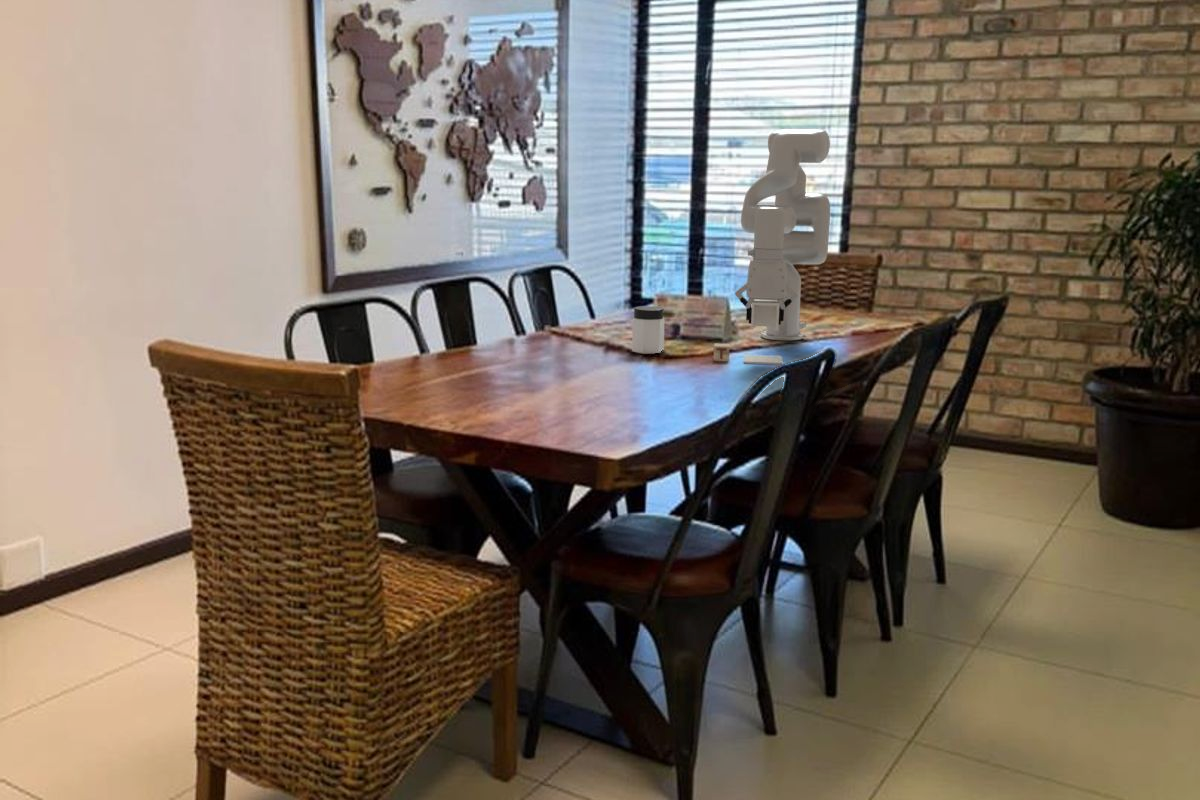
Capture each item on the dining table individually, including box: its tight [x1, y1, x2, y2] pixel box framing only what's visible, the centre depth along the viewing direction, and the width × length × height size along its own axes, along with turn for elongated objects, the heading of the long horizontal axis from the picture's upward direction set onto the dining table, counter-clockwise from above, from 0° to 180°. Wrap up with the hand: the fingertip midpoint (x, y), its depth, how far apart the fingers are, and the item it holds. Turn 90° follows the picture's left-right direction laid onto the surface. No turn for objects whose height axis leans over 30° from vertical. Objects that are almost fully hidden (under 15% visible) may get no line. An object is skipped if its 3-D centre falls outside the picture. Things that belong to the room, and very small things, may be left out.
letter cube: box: [713, 343, 730, 362], centre depth 273 cm, size 4×4×4 cm
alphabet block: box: [750, 299, 780, 330], centre depth 269 cm, size 7×7×7 cm
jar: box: [631, 305, 666, 355], centre depth 282 cm, size 9×8×12 cm
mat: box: [743, 354, 784, 366], centre depth 272 cm, size 10×10×1 cm
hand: (764, 322), depth 270 cm, fingers closed on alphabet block, 7 cm apart
